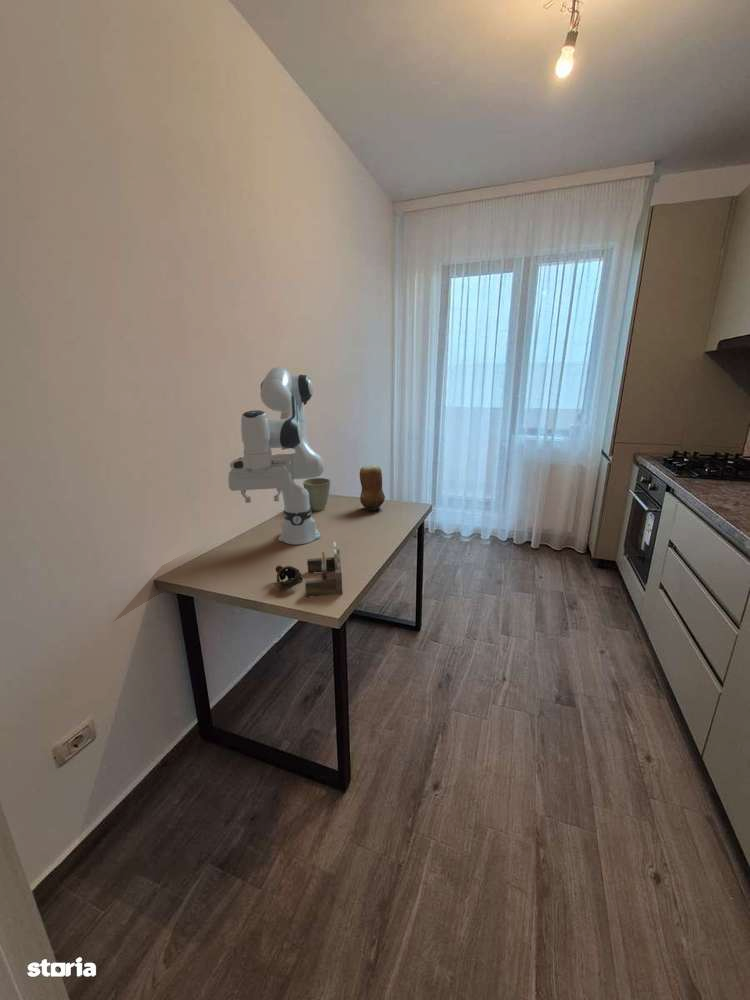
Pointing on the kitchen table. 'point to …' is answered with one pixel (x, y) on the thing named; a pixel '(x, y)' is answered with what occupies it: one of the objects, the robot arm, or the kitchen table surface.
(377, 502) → the butternut squash
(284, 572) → the pottery mug
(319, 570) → the stand
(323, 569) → the grey flat panel
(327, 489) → the plant pot
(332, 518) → the kitchen table surface
